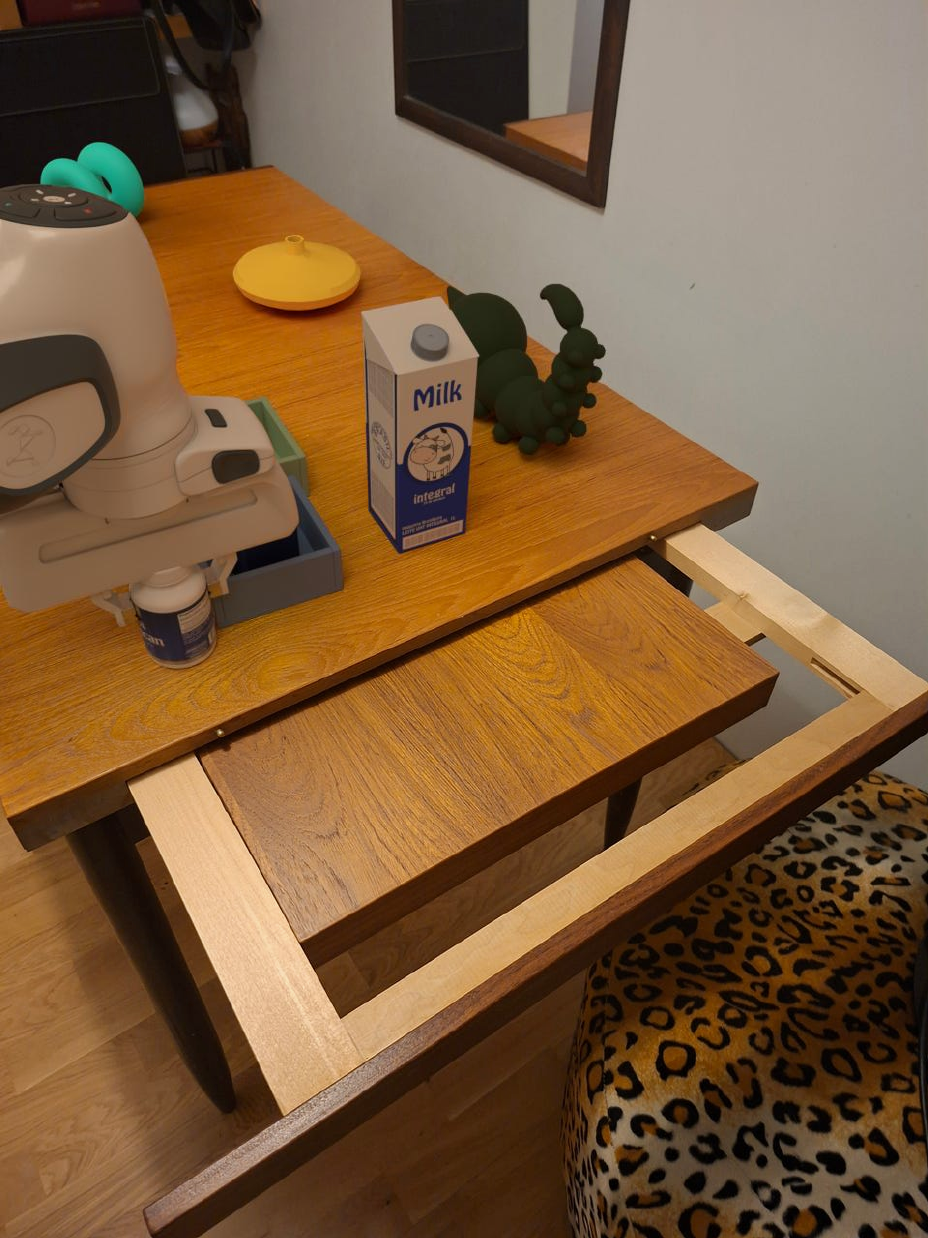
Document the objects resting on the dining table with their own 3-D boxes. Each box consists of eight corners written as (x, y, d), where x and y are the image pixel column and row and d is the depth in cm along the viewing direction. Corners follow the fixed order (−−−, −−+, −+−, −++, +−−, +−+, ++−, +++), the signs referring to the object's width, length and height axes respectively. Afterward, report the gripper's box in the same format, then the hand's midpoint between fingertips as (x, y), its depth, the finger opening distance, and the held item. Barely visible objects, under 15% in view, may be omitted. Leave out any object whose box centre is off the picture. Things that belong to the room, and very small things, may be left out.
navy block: (251, 591, 72) (244, 547, 69) (219, 560, 75) (210, 515, 71) (301, 565, 75) (296, 520, 71) (267, 536, 77) (261, 491, 74)
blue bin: (218, 629, 70) (209, 588, 67) (180, 547, 76) (170, 506, 73) (343, 589, 74) (341, 549, 71) (297, 514, 80) (293, 474, 77)
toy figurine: (596, 475, 90) (476, 344, 103) (644, 311, 75) (497, 181, 88) (520, 500, 86) (405, 361, 99) (554, 333, 72) (415, 194, 84)
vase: (371, 273, 115) (370, 219, 110) (348, 331, 104) (346, 274, 99) (254, 261, 116) (247, 207, 110) (219, 318, 105) (210, 260, 100)
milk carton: (433, 491, 84) (441, 292, 69) (467, 532, 80) (481, 331, 65) (366, 510, 81) (359, 308, 67) (397, 554, 77) (396, 350, 63)
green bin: (196, 527, 78) (187, 486, 75) (164, 461, 85) (154, 420, 81) (309, 496, 82) (306, 456, 79) (270, 435, 89) (265, 395, 85)
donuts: (48, 234, 118) (25, 155, 110) (97, 209, 124) (78, 132, 117) (109, 250, 115) (89, 170, 108) (155, 223, 122) (140, 147, 115)
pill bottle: (131, 649, 68) (103, 556, 61) (184, 611, 71) (162, 518, 64) (180, 682, 66) (156, 590, 59) (231, 641, 69) (215, 549, 62)
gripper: (-42, 531, 50) (35, 681, 60) (296, 442, 57) (314, 590, 67) (-55, 469, 53) (20, 620, 64) (264, 393, 61) (286, 540, 71)
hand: (173, 604), depth 65 cm, fingers closed on pill bottle, 5 cm apart
